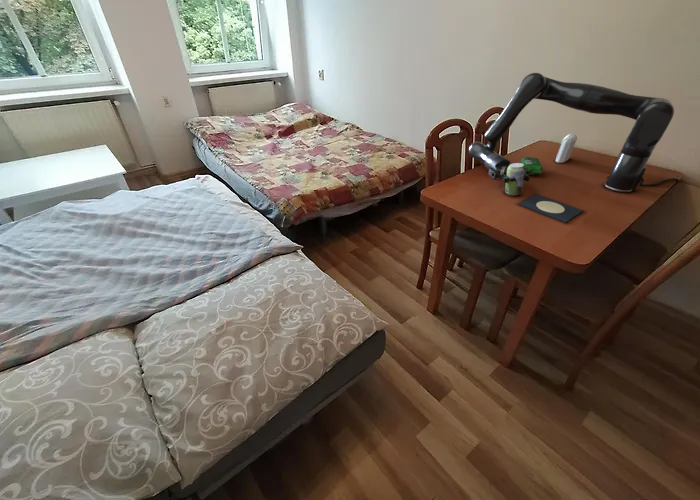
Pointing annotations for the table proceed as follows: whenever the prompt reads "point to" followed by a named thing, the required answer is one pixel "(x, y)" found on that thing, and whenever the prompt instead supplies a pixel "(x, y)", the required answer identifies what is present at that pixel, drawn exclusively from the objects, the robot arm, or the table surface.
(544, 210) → the mat
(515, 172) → the beverage can
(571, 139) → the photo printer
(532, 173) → the snack package
